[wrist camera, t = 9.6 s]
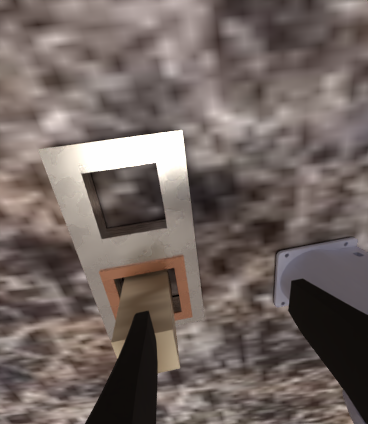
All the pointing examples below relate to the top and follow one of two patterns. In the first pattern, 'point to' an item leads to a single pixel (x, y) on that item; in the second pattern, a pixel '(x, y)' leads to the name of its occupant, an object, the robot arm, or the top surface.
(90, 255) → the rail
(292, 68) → the top surface
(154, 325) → the peg
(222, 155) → the top surface
